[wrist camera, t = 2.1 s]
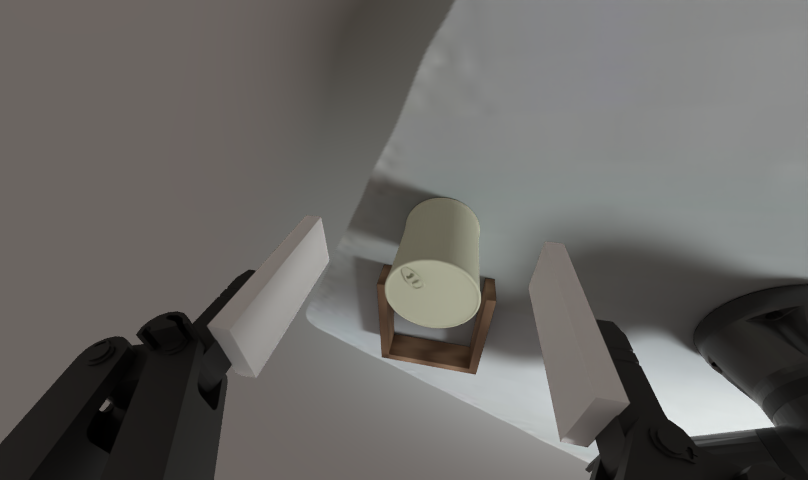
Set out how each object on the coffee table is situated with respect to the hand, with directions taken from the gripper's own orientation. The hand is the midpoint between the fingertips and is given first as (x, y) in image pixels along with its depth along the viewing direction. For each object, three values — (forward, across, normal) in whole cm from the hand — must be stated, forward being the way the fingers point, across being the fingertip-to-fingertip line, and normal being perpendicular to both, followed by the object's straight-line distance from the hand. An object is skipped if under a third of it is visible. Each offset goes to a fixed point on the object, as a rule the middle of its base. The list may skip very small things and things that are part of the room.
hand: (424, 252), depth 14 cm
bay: (+20, 0, +27) cm, 33 cm away
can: (+20, 0, +12) cm, 23 cm away
